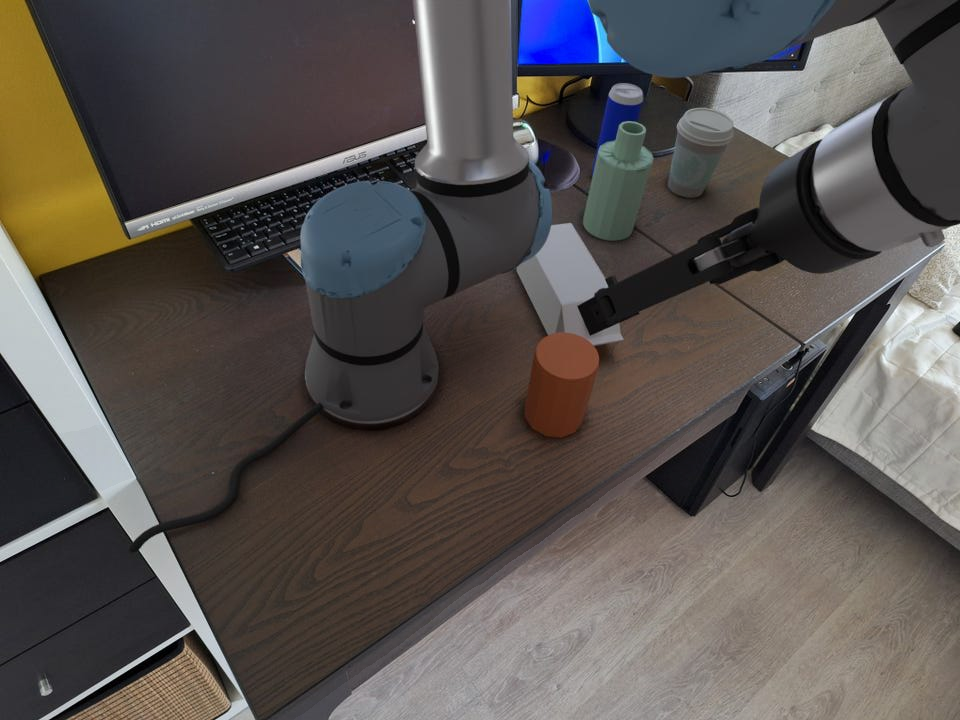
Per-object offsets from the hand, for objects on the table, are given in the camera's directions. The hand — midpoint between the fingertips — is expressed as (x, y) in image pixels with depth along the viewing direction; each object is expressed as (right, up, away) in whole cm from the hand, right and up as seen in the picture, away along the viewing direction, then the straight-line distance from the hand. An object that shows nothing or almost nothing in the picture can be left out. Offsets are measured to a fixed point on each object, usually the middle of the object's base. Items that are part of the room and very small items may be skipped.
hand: (649, 293), depth 58 cm
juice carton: (-6, +10, +34) cm, 36 cm away
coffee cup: (+19, +22, +52) cm, 60 cm away
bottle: (+5, +15, +44) cm, 46 cm away
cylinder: (-6, -12, +19) cm, 23 cm away
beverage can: (+6, +24, +52) cm, 58 cm away
